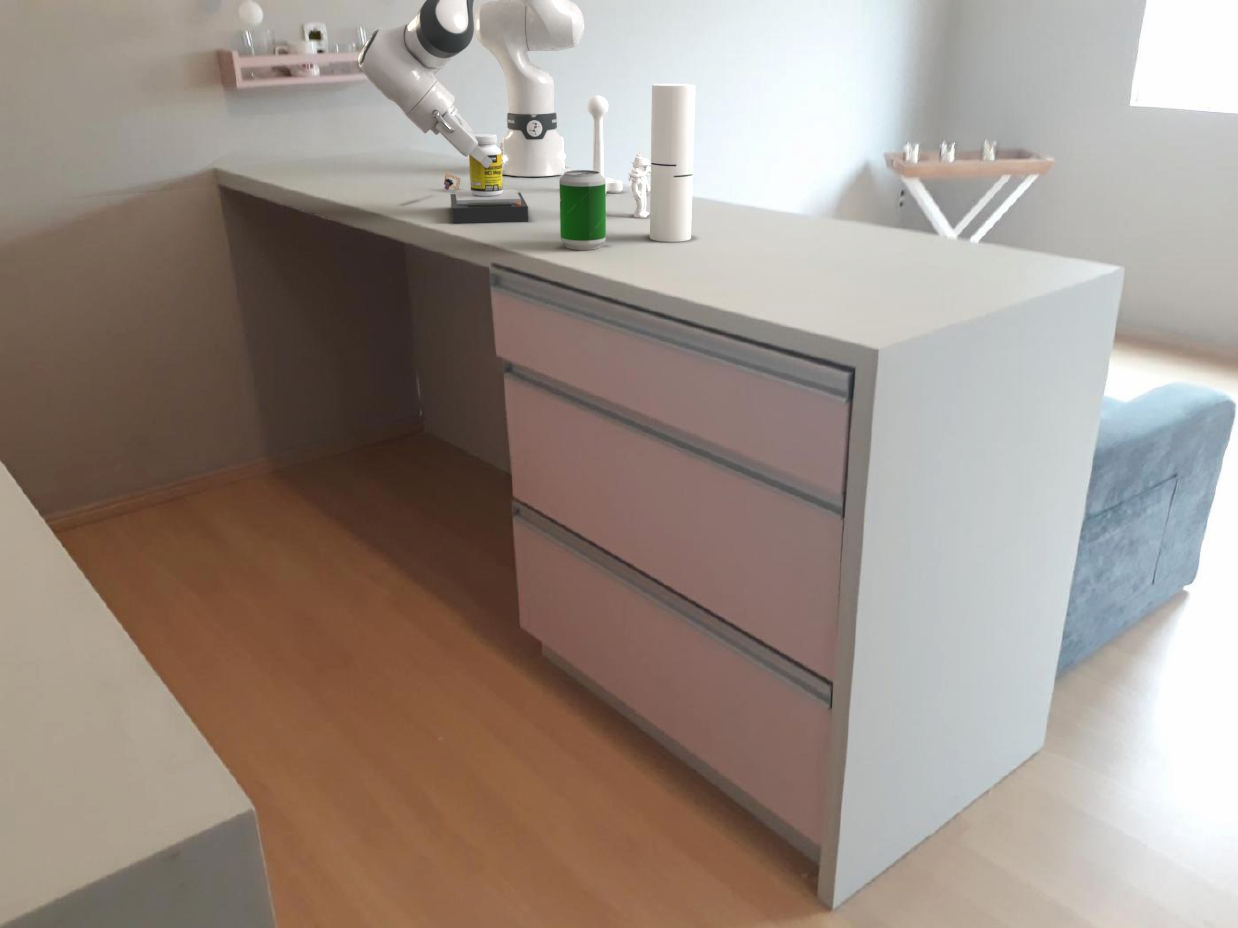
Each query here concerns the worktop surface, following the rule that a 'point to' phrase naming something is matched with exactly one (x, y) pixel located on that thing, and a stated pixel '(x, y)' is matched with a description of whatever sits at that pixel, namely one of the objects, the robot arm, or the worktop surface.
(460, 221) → the scale
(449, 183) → the framed picture
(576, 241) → the soda can
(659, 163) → the cylindrical container
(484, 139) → the pill bottle
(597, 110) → the joystick
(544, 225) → the worktop surface
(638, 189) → the hat wearing toy figure
